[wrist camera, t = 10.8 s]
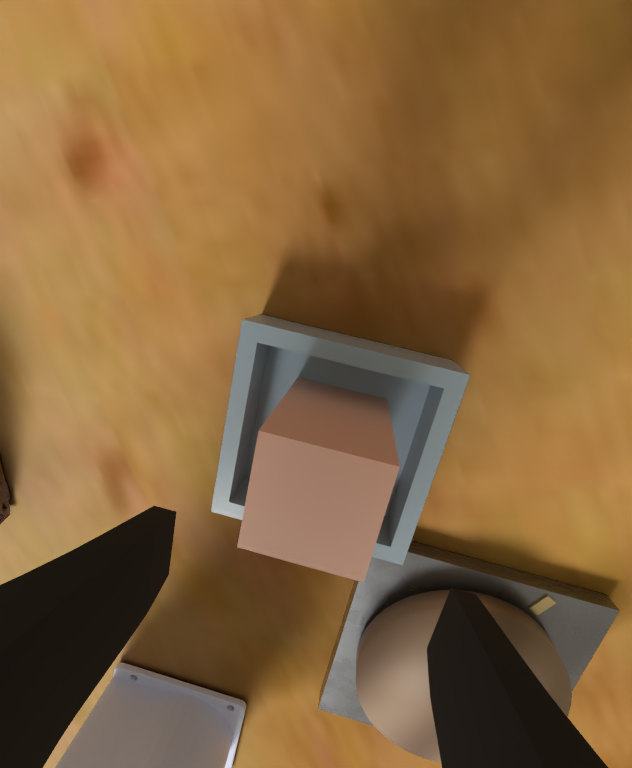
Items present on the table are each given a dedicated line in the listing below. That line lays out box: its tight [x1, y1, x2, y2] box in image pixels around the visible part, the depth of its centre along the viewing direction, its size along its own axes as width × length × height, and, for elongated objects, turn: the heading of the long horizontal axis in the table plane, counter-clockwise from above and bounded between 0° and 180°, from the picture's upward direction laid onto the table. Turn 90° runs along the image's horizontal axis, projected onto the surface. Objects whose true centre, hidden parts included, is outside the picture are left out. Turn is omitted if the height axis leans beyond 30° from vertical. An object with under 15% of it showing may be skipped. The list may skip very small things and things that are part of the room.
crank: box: [356, 590, 572, 763], centre depth 18 cm, size 12×11×5 cm
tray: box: [211, 314, 470, 565], centre depth 18 cm, size 10×10×3 cm
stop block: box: [237, 377, 400, 583], centre depth 15 cm, size 4×4×7 cm
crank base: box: [318, 541, 619, 726], centre depth 21 cm, size 13×13×1 cm
